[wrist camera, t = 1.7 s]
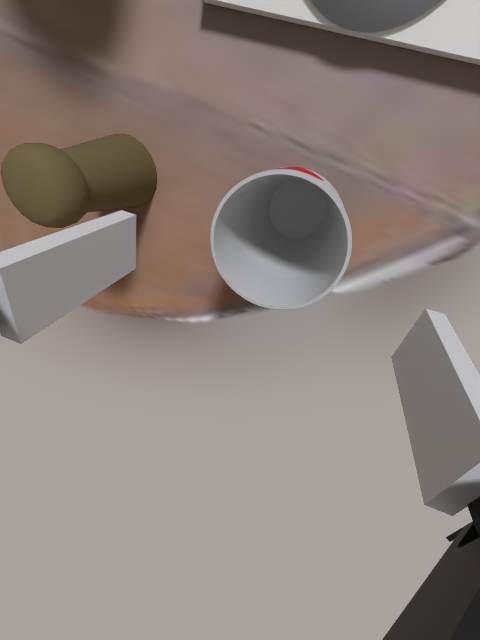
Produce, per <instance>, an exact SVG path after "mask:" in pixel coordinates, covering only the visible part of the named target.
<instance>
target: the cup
mask: <svg viewBox="0 0 480 640" xmlns="http://www.w3.org/2000/svg"><path fill="white" fill-rule="evenodd" d="M351 249H352V233H351V227H350V223H349V219H348V216H347V214H346V211H345V209H344V206H343V203H342V201H341V198H340V196H339V195H338V193H337V191H336V190H335V189H334V187H333V186H332V185H331V184H330V183H329V182H328V181H327V180H326V179H325V178H323V177H322V176H320V175H319V174H317V173H315V172H313V171H311V170H308V169H305V168H300V167H281V168H277V169H273V170H268V171H264V172H260V173H257V174H254V175H252V176H250V177H248V178H246V179H244V180H242V181H241V182H239V183H238V184H237V185H236V186H234V187H233V188H232V189H231V190H230V191H229V192H228V193H227V194H226V196H225V197H224V198H223V200H222V201H221V203H220V204H219V206H218V208H217V210H216V213H215V215H214V218H213V222H212V227H211V250H212V255H213V259H214V262H215V264H216V267H217V269H218V271H219V273H220V274H221V276H222V278H223V279H224V280H225V282H226V283H227V284H228V285H229V286H230V287H231V288H232V289H233V290H234V291H235V292H236V293H237V294H238V295H240V296H241V297H243V298H244V299H246V300H248V301H249V302H251V303H254V304H256V305H259V306H262V307H265V308H270V309H279V310H286V309H294V308H300V307H303V306H306V305H309V304H311V303H313V302H315V301H317V300H319V299H321V298H322V297H323V296H325V295H326V294H327V293H329V292H330V291H331V290H332V289H333V288H334V287H335V285H336V284H337V283H338V282H339V280H340V279H341V277H342V276H343V274H344V272H345V270H346V268H347V265H348V262H349V259H350V255H351Z"/></svg>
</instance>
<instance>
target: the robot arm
mask: <svg viewBox="0 0 480 640" xmlns="http://www.w3.org/2000/svg"><path fill="white" fill-rule="evenodd" d="M135 269H136V215H135V214H132V213H129V212H126V211H123V210H120V211H117V212H114V213H112V214H109V215H106V216H103V217H100V218H97V219H94V220H91V221H88V222H85V223H82V224H80V225H77V226H74V227H71V228H68V229H65V230H62V231H59V232H56V233H53V234H51V235H48V236H45V237H42V238H39V239H36V240H33V241H30V242H27V243H24V244H21V245H18V246H15V247H13V248H9V249H6V250H4V251H1V252H0V333H1V336H3V337H6V338H8V339H11V340H13V341H16V342H18V343H20V344H21V343H23V342H24V341H26V340H28V339H29V338H31V337H32V336H34V335H35V334H37V333H38V332H40V331H41V330H43V329H44V328H46V327H47V326H49V325H50V324H52V323H53V322H55V321H57V320H58V319H60V318H61V317H63V316H64V315H66V314H67V313H69V312H70V311H72V310H73V309H75V308H76V307H78V306H80V305H81V304H83V303H84V302H86V301H87V300H89V299H90V298H92V297H93V296H95V295H96V294H98V293H99V292H101V291H102V290H104V289H106V288H107V287H109V286H110V285H112V284H113V283H115V282H116V281H118V280H119V279H121V278H122V277H124V276H125V275H127V274H128V273H130V272H132V271H133V270H135ZM392 362H393V367H394V371H395V375H396V380H397V384H398V389H399V393H400V398H401V402H402V406H403V411H404V416H405V420H406V424H407V429H408V433H409V438H410V442H411V447H412V451H413V456H414V460H415V465H416V469H417V474H418V478H419V483H420V487H421V492H422V496H423V500H424V505H426V506H429V507H431V508H434V509H436V510H439V511H442V512H444V513H446V514H449V515H451V516H453V515H455V514H456V513H458V512H459V511H461V510H462V509H464V508H465V507H467V506H468V508H469V511H470V514H471V517H472V520H473V522H471V523H469V524H468V525H466V526H464V527H463V528H461V529H459V530H458V531H456V532H454V533H453V534H451V535H450V536H448V537H446V538H447V539H448V540H449V541H452V540H454V539H455V540H454V541H453V543H452V544H451V545H450V547H449V548H448V549H447V551H446V552H445V554H444V555H443V556H442V558H441V559H440V561H439V562H438V563H437V565H436V566H435V567H434V569H433V570H432V572H431V573H430V574H429V576H428V577H427V579H426V580H425V581H424V583H423V584H422V585H421V587H420V588H419V590H418V591H417V592H416V594H415V595H414V597H413V598H412V599H411V601H410V602H409V604H408V605H407V606H406V608H405V609H404V611H403V612H402V613H401V615H400V616H399V618H398V619H397V620H396V622H395V623H394V624H393V626H392V627H391V628H390V630H389V631H388V633H387V634H386V635H385V637H384V638H383V640H480V375H479V373H478V372H477V370H476V368H475V367H474V365H473V363H472V361H471V360H470V358H469V356H468V354H467V353H466V351H465V349H464V347H463V345H462V344H461V342H460V340H459V338H458V337H457V335H456V333H455V331H454V330H453V328H452V326H451V325H450V323H449V321H448V319H447V318H446V316H445V314H442V313H438V312H435V311H432V310H429V309H425V310H424V311H423V313H422V314H421V316H420V317H419V319H418V320H417V322H416V323H415V324H414V326H413V327H412V329H411V330H410V332H409V333H408V334H407V336H406V337H405V339H404V340H403V341H402V343H401V344H400V346H399V347H398V349H397V350H396V352H395V353H394V354H393V356H392Z"/></svg>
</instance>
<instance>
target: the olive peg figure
mask: <svg viewBox="0 0 480 640" xmlns="http://www.w3.org/2000/svg"><path fill="white" fill-rule="evenodd" d="M1 175H2V181H3V185H4V188H5V190H6V193H7V195H8V197H9V198H10V200H11V201H12V203H13V205H14V206H15V207H16V208H17V209H18V210H19V211H20V213H21V214H22V215H24V216H25V217H26V218H28V219H29V220H30V221H32V222H34V223H37V224H39V225H42V226H45V227H51V228H63V227H66V226H69V225H71V224H74V223H77V222H78V221H79V220H80V219H81V218H82V217H83V216H84V215H85V214H86V212H94V211H103V210H111V209H119V208H127V207H135V206H140V205H143V204H146V203H147V202H148V201H149V200H150V199H151V198H152V197H153V194H154V192H155V190H156V184H157V174H156V167H155V164H154V162H153V159H152V157H151V155H150V154H149V152H148V151H147V149H146V148H145V146H144V145H143V144H141V143H140V142H139V141H138V140H137V139H135V138H134V137H131V136H129V135H126V134H114V135H110V136H107V137H103V138H100V139H96V140H93V141H89V142H85V143H82V144H78V145H75V146H71V147H68V148H64V149H58V148H56V147H53V146H51V145H47V144H44V143H23V144H21V145H19V146H17V147H15V148H13V149H11V150H10V151H9V152H8V154H7V155H6V157H5V159H4V160H3V162H2V168H1Z"/></svg>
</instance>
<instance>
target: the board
mask: <svg viewBox="0 0 480 640" xmlns="http://www.w3.org/2000/svg"><path fill="white" fill-rule="evenodd" d="M203 1H204V2H205V3H208V4H213V5H217V6H221V7H226V8H230V9H235V10H239V11H243V12H248V13H252V14H257V15H261V16H265V17H270V18H274V19H279V20H283V21H287V22H292V23H296V24H301V25H305V26H309V27H314V28H318V29H323V30H327V31H331V32H336V33H340V34H345V35H349V36H353V37H358V38H362V39H367V40H371V41H376V42H380V43H384V44H389V45H393V46H398V47H402V48H406V49H411V50H415V51H420V52H424V53H428V54H433V55H437V56H442V57H446V58H450V59H455V60H459V61H464V62H468V63H472V64H477V65H480V0H203Z"/></svg>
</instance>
